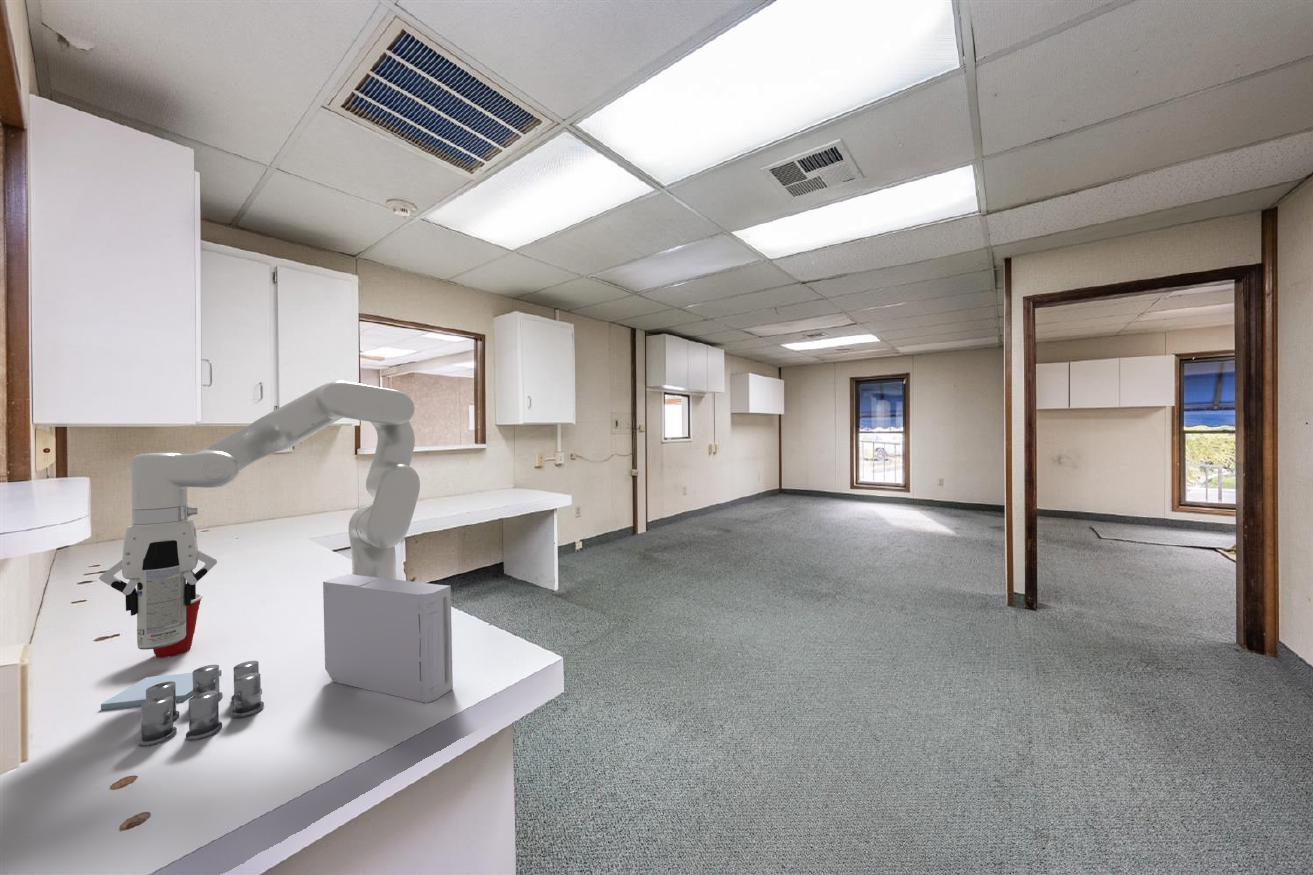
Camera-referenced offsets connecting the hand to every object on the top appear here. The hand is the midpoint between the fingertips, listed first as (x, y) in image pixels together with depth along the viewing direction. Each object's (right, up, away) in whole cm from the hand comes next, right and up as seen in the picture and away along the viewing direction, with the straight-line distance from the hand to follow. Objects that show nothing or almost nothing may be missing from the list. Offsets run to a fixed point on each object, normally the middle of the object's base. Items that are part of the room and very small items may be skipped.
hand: (162, 607), depth 94 cm
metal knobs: (+17, -16, -9) cm, 25 cm away
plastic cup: (-15, -17, +17) cm, 28 cm away
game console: (+43, -16, +1) cm, 46 cm away
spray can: (0, -7, 0) cm, 7 cm away
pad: (0, -16, 0) cm, 16 cm away
